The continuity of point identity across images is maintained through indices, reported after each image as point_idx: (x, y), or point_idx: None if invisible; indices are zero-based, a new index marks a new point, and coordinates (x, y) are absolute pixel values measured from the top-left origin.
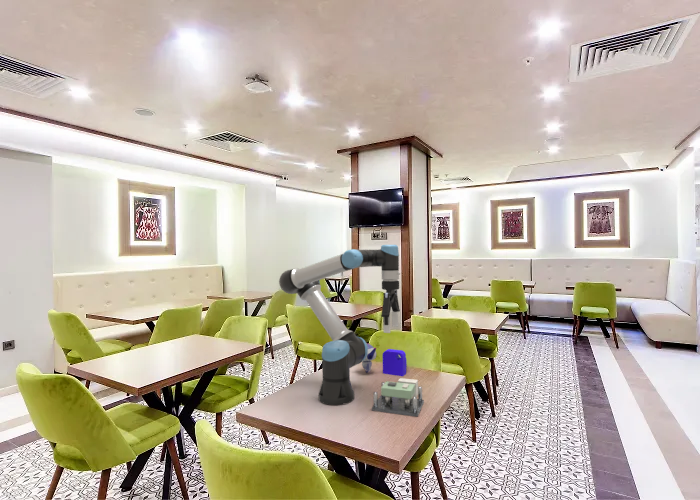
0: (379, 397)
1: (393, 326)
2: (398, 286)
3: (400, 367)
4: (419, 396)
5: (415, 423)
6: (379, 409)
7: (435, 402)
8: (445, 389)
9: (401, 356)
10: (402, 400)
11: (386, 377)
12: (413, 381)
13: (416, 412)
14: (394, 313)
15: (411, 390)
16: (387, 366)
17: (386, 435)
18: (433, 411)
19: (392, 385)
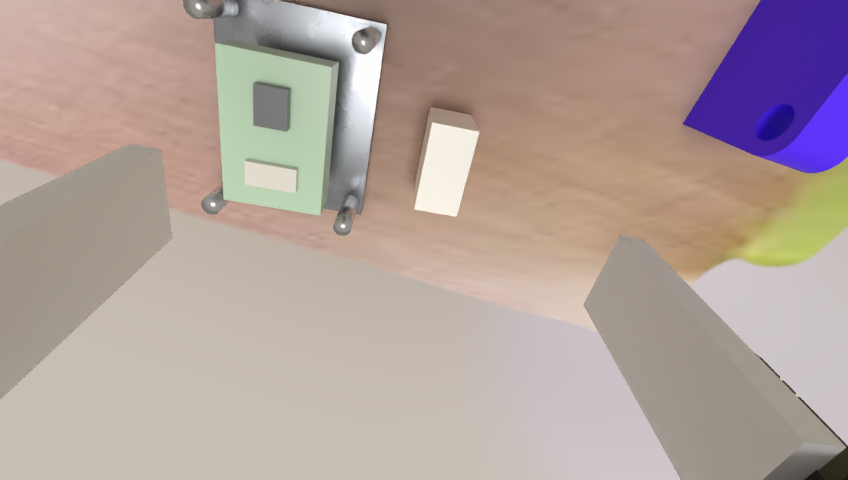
0: (346, 16)
1: (611, 253)
2: None
3: (720, 121)
4: (340, 207)
5: (173, 179)
6: (216, 28)
7: (373, 246)
8: (502, 283)
9: (763, 148)
10: (334, 133)
11: (684, 29)
12: (432, 198)
13: None
14: (728, 449)
15: (235, 200)
16: (775, 35)
17: (25, 77)
18: (293, 237)
19: (255, 109)
